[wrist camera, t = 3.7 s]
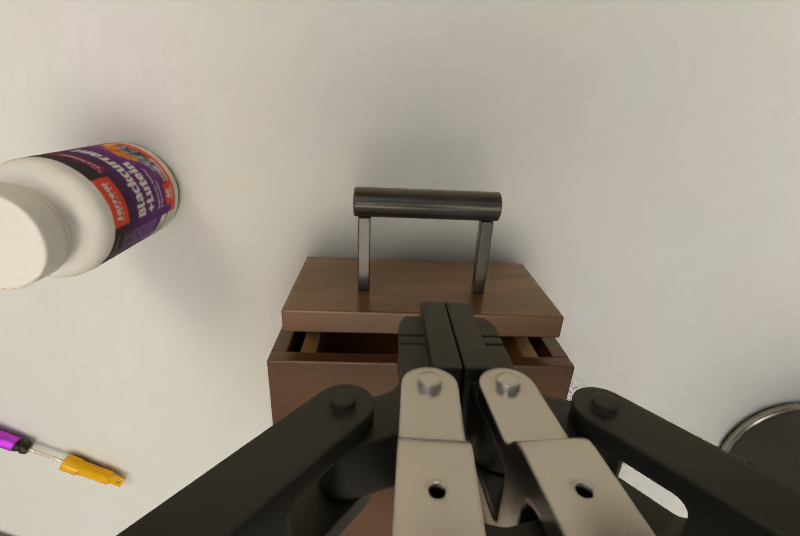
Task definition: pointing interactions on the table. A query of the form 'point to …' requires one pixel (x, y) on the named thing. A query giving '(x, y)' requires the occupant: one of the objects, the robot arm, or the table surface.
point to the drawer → (415, 281)
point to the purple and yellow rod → (63, 461)
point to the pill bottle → (79, 209)
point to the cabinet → (377, 373)
